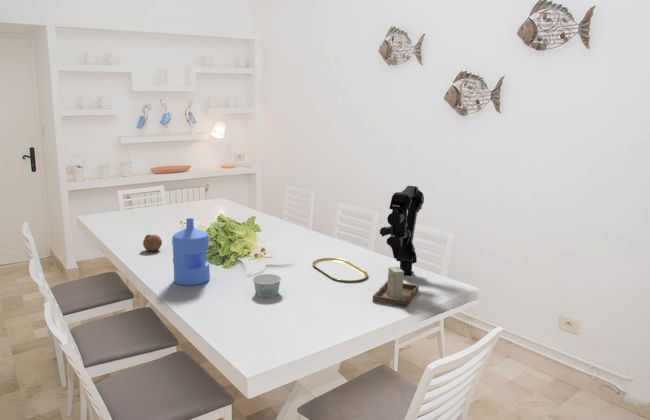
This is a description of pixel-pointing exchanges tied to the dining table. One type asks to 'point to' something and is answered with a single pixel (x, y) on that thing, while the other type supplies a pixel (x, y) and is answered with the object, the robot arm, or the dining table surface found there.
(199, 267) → the water jug
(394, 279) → the skincare box
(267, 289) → the food container
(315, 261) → the gold hoop ring
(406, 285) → the walnut tray
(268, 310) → the dining table surface
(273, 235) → the dining table surface
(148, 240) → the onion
